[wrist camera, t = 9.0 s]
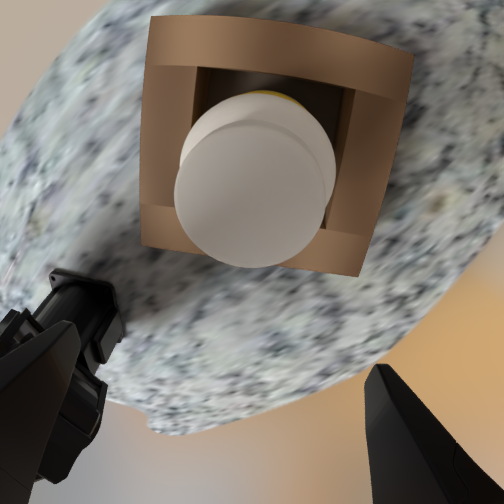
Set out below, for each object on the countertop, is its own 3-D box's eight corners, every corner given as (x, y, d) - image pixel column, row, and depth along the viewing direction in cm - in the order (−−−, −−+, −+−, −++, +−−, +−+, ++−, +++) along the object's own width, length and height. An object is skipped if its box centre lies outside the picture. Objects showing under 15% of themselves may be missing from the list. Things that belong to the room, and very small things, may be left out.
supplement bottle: (231, 77, 15) (175, 70, 6) (329, 110, 15) (391, 143, 7) (203, 168, 18) (136, 258, 9) (294, 197, 18) (309, 310, 10)
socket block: (163, 216, 20) (141, 245, 17) (176, 28, 14) (151, 16, 11) (345, 242, 20) (358, 277, 17) (387, 59, 14) (414, 54, 11)
